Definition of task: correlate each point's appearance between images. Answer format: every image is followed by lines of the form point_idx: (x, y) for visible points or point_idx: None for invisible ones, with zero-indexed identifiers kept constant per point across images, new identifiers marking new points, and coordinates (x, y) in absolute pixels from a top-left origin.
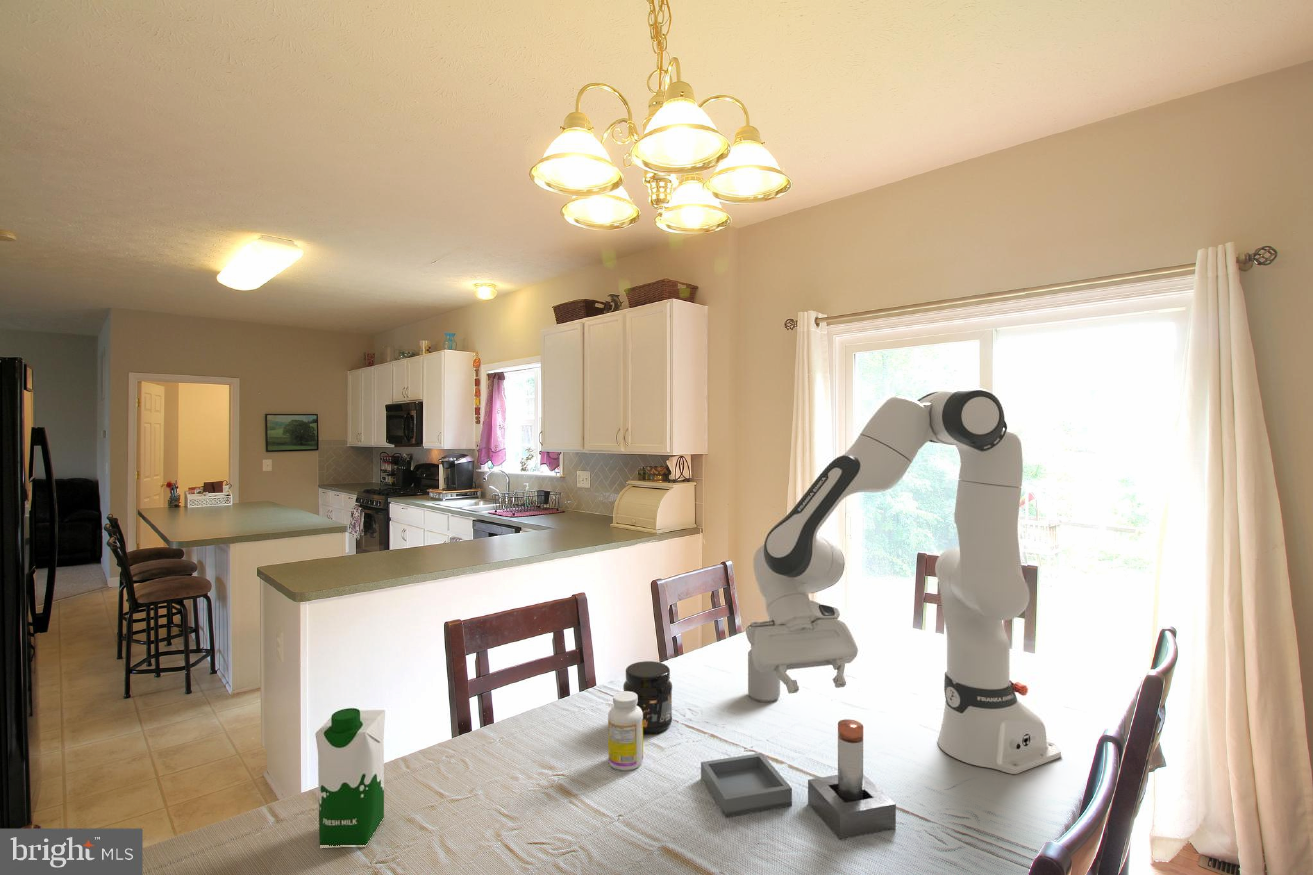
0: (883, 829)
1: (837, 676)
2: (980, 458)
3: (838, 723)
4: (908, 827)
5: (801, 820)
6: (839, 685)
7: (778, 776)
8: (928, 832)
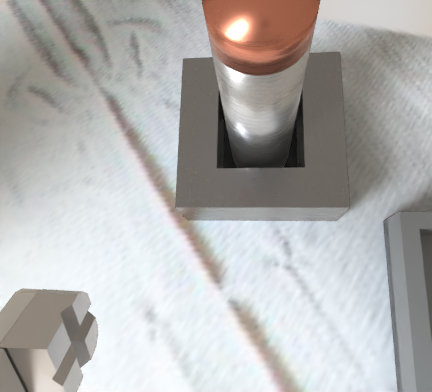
0: None
1: (42, 339)
2: None
3: (311, 12)
4: (165, 88)
5: (383, 163)
6: (83, 294)
7: (416, 279)
8: (138, 67)
